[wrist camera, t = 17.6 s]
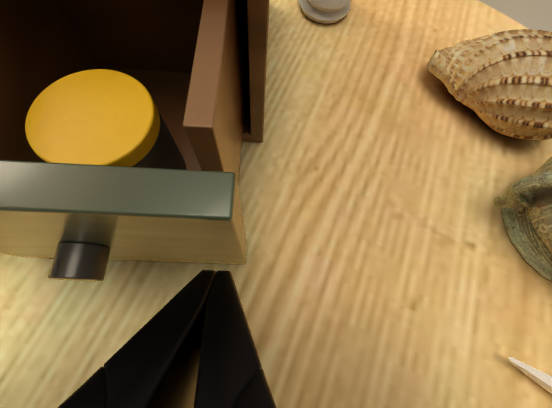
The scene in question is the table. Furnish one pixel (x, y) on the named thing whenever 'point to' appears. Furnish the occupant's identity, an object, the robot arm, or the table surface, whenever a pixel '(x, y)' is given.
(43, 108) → the yellow and grey canister
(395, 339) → the table surface
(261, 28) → the cabinet
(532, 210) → the vessel
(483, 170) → the table surface
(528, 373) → the pale tapered spike
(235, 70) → the drawer
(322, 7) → the rook chess piece
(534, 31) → the seashell
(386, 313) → the table surface
